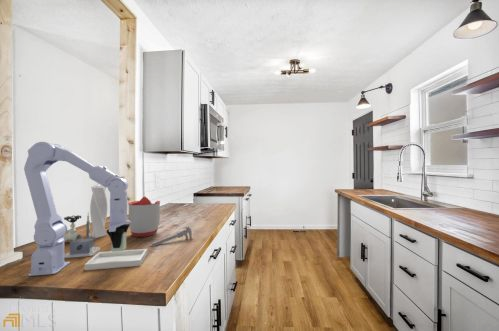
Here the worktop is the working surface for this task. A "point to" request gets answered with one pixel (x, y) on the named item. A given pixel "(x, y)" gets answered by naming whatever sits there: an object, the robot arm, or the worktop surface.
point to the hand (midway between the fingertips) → (118, 245)
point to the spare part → (123, 244)
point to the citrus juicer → (144, 217)
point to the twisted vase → (97, 212)
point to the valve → (72, 229)
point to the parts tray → (116, 259)
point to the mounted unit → (82, 248)
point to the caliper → (174, 236)
